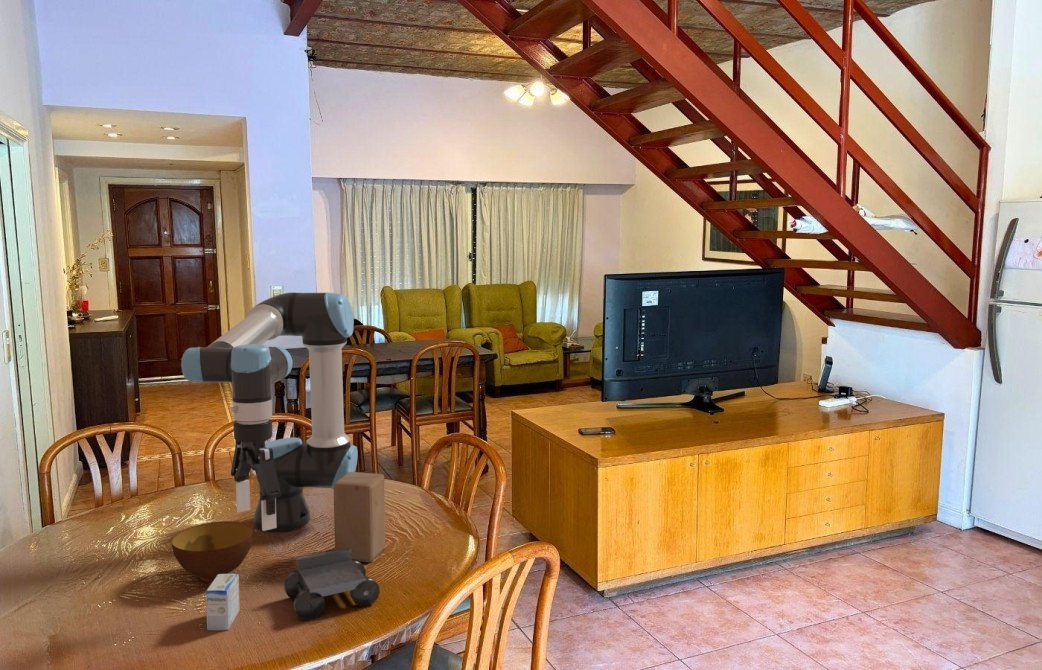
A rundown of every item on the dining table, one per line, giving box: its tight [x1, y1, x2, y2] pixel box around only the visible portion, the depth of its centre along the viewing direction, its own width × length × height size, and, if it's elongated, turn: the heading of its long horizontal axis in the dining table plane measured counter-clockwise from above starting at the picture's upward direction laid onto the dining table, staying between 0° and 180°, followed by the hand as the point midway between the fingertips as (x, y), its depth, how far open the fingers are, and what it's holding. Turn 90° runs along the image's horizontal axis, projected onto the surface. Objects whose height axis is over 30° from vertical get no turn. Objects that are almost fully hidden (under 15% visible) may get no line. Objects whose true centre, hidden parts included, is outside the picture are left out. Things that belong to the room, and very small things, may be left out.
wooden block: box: [333, 471, 386, 563], centre depth 188 cm, size 10×10×20 cm
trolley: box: [283, 547, 381, 621], centre depth 164 cm, size 12×18×9 cm, turn 119°
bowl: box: [171, 520, 254, 583], centre depth 175 cm, size 18×18×10 cm
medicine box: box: [205, 573, 240, 631], centre depth 155 cm, size 8×4×9 cm, turn 5°
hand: (256, 519), depth 156 cm, fingers open, 13 cm apart
